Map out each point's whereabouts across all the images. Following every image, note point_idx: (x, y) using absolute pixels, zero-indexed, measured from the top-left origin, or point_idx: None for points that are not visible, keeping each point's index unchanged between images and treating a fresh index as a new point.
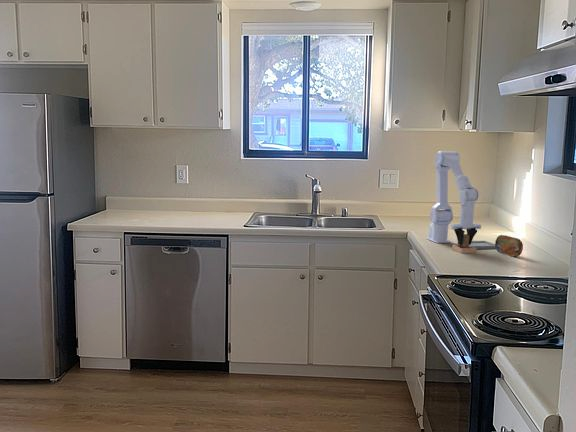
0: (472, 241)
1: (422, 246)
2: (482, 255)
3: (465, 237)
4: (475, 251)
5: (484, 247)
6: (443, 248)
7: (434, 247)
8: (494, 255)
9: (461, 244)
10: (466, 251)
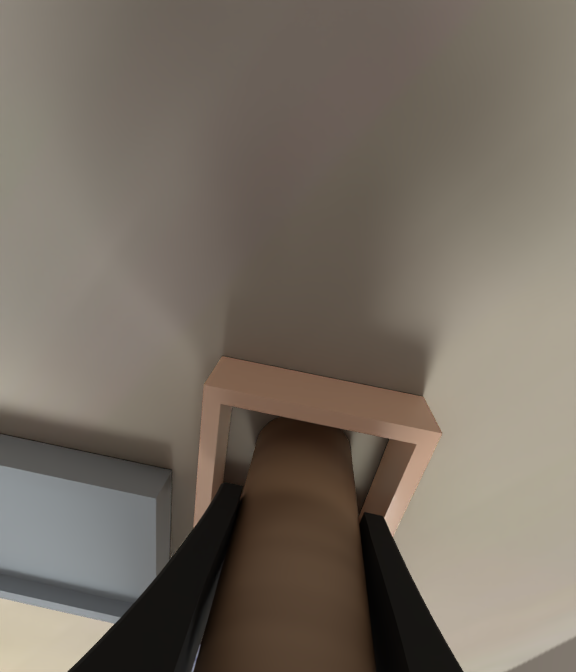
0: (28, 595)
1: (525, 657)
2: (243, 206)
3: (345, 638)
4: (224, 363)
5: (9, 450)
6: (413, 572)
7: (458, 613)
8: (61, 146)
9: (371, 520)
10: (353, 392)
